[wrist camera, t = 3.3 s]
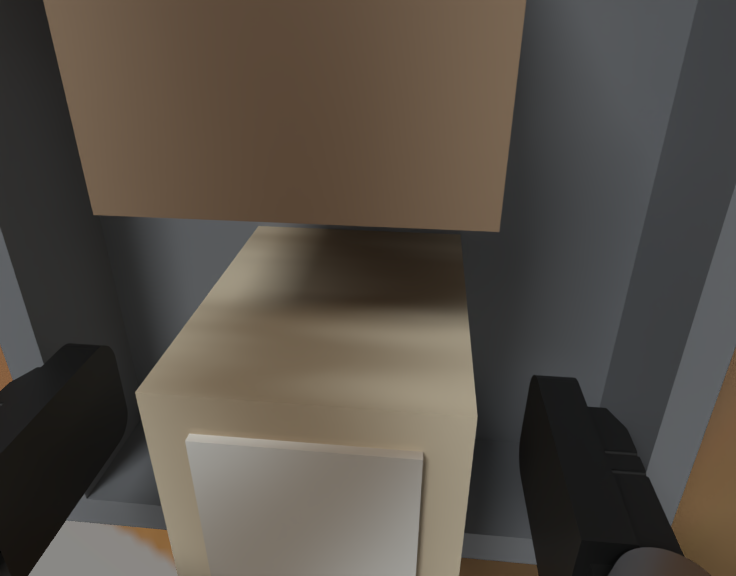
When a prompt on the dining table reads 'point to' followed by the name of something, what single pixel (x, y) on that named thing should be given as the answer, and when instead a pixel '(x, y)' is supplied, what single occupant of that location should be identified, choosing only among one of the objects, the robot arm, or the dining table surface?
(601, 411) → the robot arm
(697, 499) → the dining table surface
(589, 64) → the parts bin
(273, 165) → the walnut block
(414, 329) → the beige box with label
